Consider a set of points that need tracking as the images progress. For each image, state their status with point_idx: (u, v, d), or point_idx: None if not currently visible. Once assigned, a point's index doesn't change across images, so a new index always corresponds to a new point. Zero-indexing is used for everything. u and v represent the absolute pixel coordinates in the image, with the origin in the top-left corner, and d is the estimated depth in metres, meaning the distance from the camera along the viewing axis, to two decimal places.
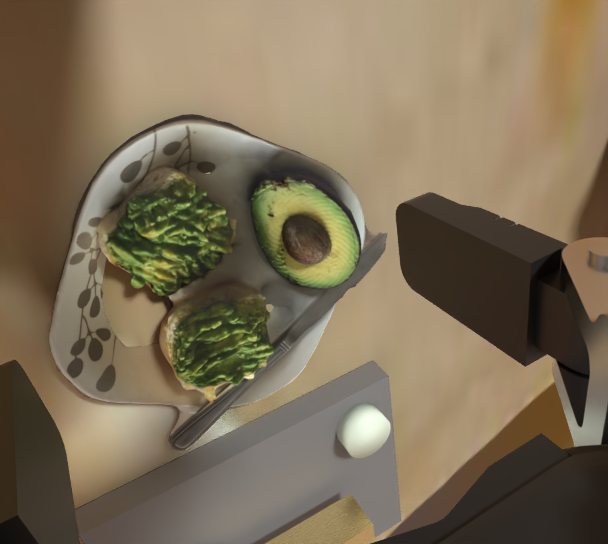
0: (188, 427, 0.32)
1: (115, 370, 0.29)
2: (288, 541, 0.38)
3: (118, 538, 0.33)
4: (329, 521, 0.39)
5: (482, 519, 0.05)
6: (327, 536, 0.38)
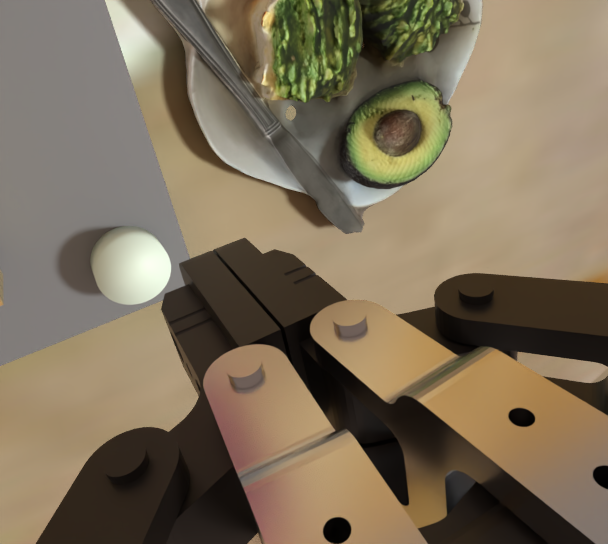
0: None
1: None
2: None
3: None
4: None
5: (482, 519, 0.05)
6: None
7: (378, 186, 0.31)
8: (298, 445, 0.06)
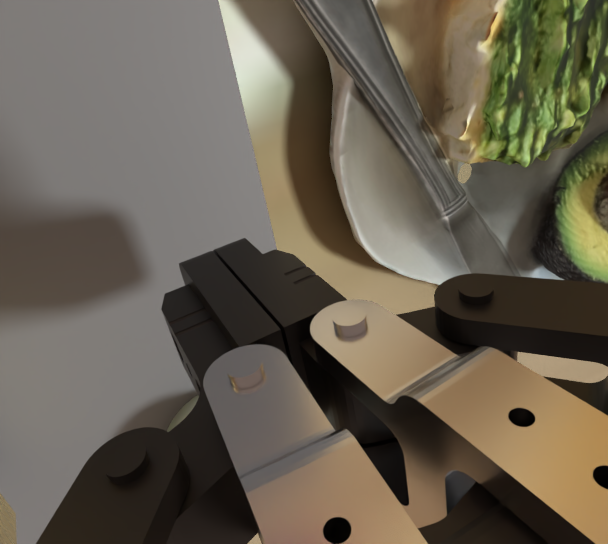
0: None
1: None
2: None
3: None
4: None
5: (481, 520, 0.05)
6: None
7: None
8: (298, 445, 0.06)
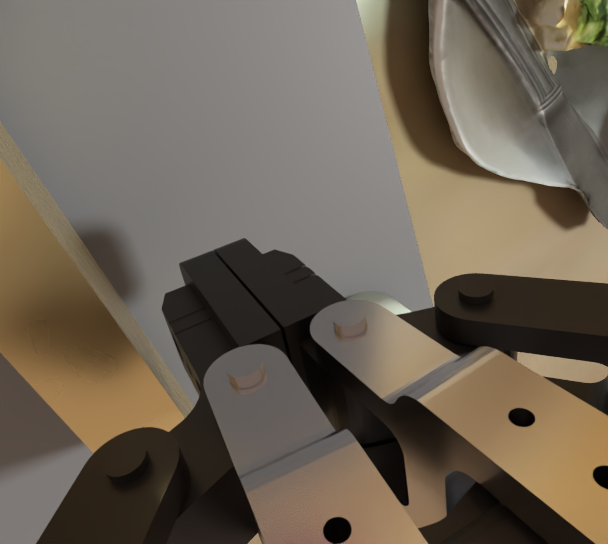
0: None
1: None
2: (94, 265, 0.10)
3: None
4: (172, 381, 0.12)
5: (482, 520, 0.05)
6: (168, 384, 0.11)
7: None
8: (298, 445, 0.06)
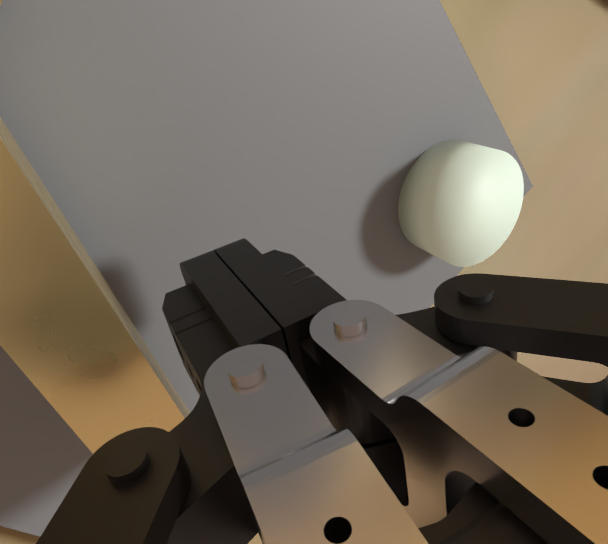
0: None
1: None
2: (93, 265, 0.10)
3: None
4: (168, 383, 0.12)
5: (481, 519, 0.05)
6: (166, 385, 0.11)
7: None
8: (298, 446, 0.06)
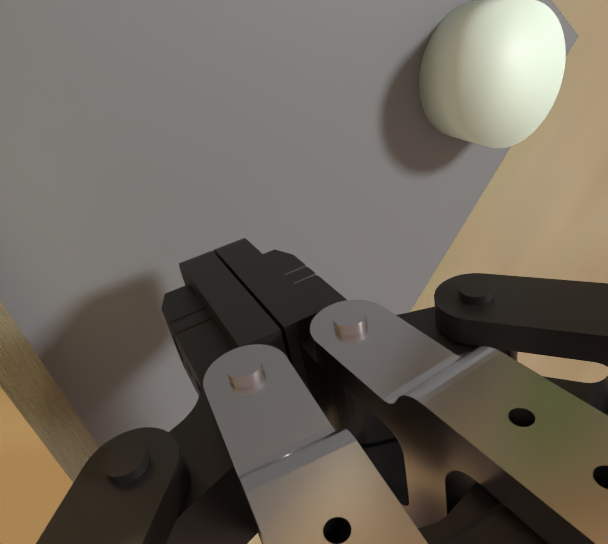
0: None
1: None
2: None
3: None
4: (74, 432, 0.11)
5: (482, 519, 0.05)
6: (63, 440, 0.10)
7: None
8: (298, 445, 0.06)
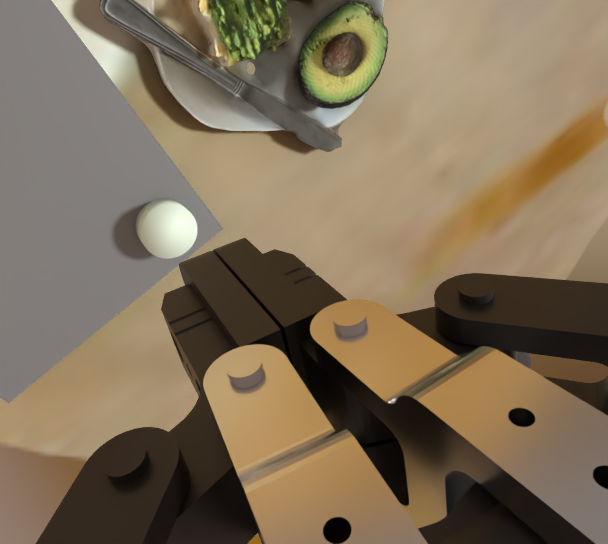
0: (135, 6, 0.30)
1: None
2: None
3: None
4: None
5: (482, 519, 0.05)
6: None
7: (339, 105, 0.37)
8: (298, 445, 0.06)
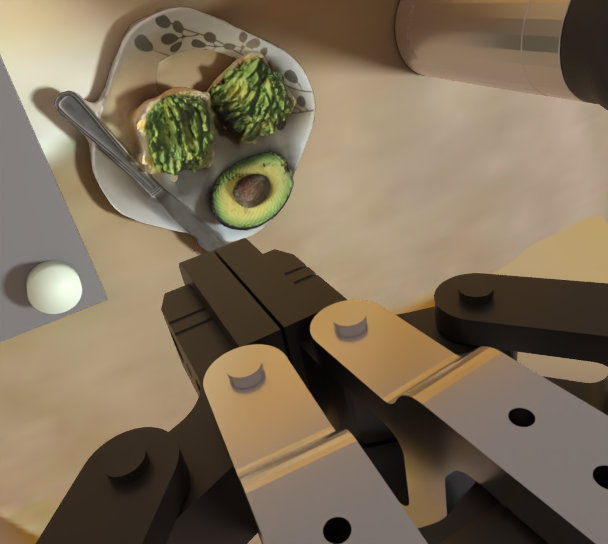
0: (85, 108, 0.37)
1: (146, 52, 0.38)
2: None
3: None
4: None
5: (482, 520, 0.05)
6: None
7: (237, 229, 0.43)
8: (298, 445, 0.06)
